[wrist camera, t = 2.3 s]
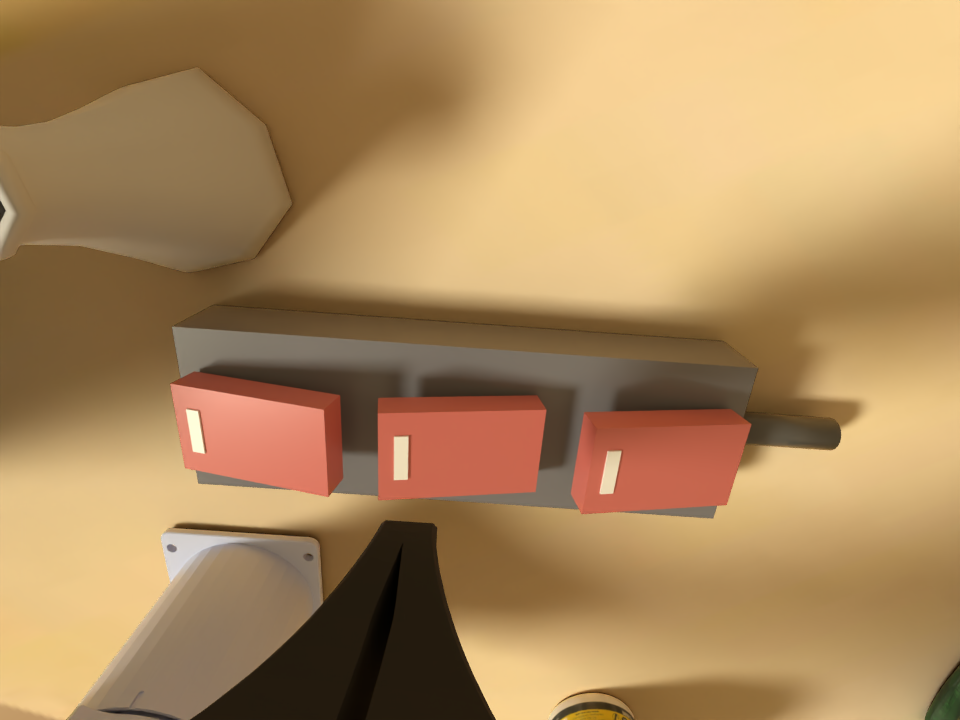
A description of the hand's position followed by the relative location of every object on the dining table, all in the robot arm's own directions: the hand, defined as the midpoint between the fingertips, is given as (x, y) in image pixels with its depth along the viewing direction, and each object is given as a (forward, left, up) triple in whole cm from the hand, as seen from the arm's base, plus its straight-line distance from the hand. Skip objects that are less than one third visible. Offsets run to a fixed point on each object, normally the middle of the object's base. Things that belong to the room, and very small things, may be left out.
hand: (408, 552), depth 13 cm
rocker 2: (0, -1, -6) cm, 6 cm away
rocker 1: (0, +7, -6) cm, 9 cm away
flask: (+8, +10, -11) cm, 17 cm away
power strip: (-1, -4, -10) cm, 11 cm away
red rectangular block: (0, -8, -6) cm, 10 cm away
